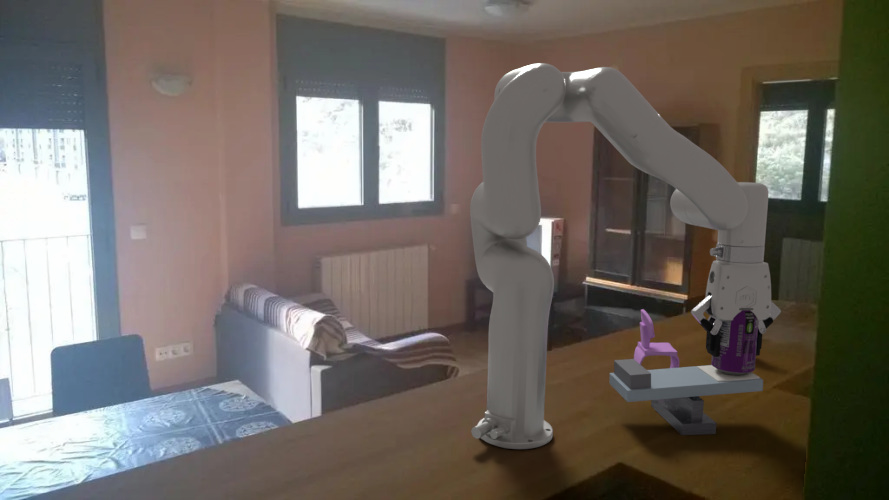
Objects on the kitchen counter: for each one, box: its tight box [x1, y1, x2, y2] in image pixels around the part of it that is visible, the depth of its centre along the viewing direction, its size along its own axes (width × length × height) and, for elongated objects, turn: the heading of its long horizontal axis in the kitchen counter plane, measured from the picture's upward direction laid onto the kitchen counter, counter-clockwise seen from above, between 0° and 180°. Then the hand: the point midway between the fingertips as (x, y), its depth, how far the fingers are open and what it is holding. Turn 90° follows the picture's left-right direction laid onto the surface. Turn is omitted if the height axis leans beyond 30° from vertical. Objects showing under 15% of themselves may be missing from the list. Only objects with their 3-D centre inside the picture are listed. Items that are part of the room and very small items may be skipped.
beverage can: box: [710, 308, 759, 375], centre depth 122 cm, size 7×7×12 cm
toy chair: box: [633, 308, 680, 368], centre depth 142 cm, size 8×9×15 cm
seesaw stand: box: [650, 396, 717, 436], centre depth 123 cm, size 6×13×6 cm, turn 6°
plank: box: [608, 358, 764, 403], centre depth 122 cm, size 24×9×4 cm, turn 96°
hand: (733, 353), depth 122 cm, fingers closed on beverage can, 6 cm apart
